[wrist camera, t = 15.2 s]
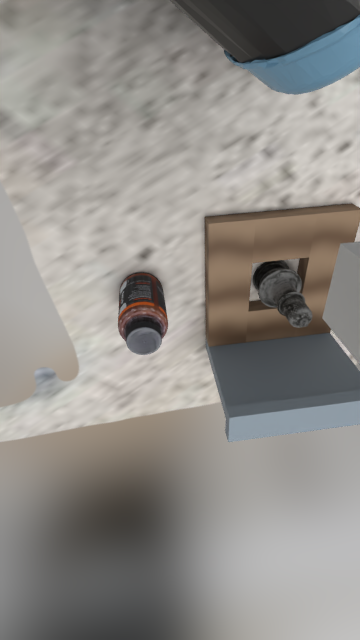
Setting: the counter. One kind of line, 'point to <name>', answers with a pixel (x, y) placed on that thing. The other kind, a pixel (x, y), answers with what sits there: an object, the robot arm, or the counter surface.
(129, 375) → the counter surface
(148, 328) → the supplement bottle
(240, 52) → the robot arm
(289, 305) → the dark grey chess piece
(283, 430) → the grey upright panel
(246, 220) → the socket block
